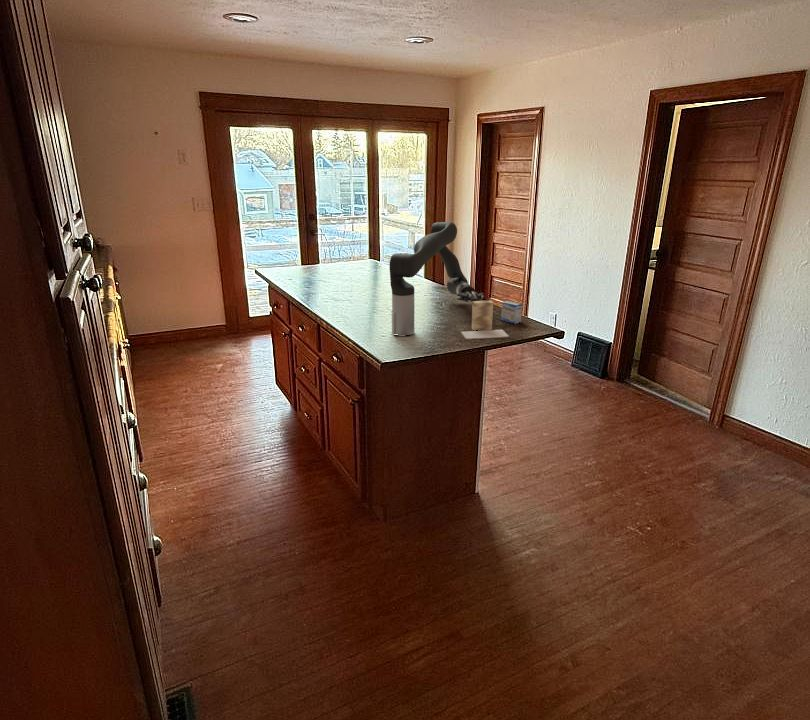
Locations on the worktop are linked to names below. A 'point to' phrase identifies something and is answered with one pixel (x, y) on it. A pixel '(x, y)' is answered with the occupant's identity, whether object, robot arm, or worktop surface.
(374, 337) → the worktop surface
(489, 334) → the grey mat
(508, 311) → the medicine box
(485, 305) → the birch block
